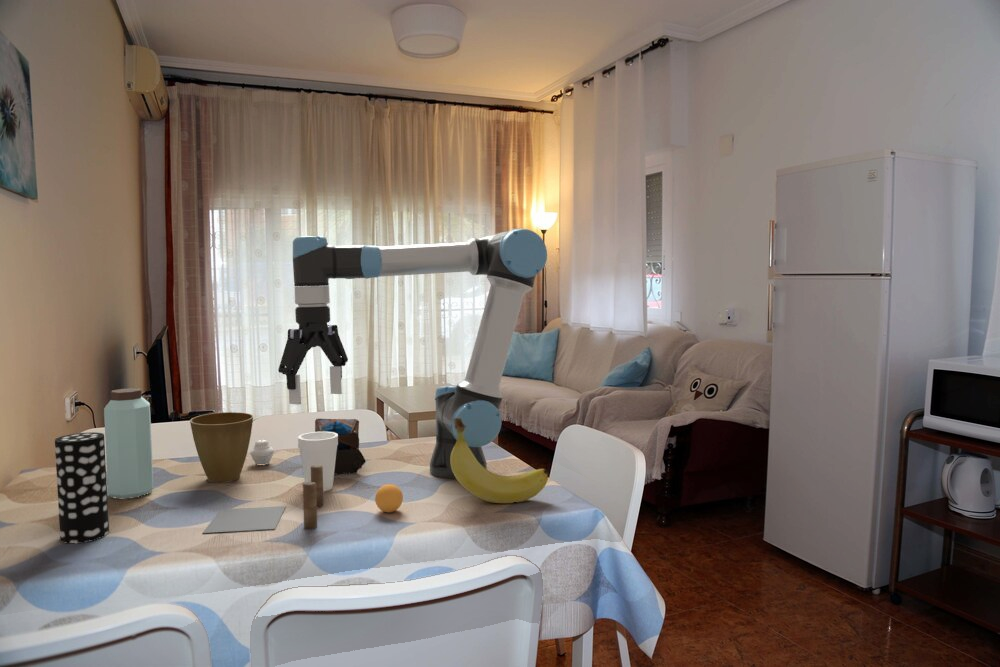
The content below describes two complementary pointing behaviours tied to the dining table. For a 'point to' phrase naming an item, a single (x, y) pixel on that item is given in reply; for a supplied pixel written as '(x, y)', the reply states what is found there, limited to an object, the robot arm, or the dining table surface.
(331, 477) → the foam cup
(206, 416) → the plant pot
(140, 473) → the water bottle
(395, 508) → the ball
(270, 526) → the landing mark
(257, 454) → the white lidded jar
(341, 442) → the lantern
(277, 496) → the dining table surface
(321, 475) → the post
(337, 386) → the robot arm
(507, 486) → the banana
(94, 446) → the spotted tube
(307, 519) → the post
